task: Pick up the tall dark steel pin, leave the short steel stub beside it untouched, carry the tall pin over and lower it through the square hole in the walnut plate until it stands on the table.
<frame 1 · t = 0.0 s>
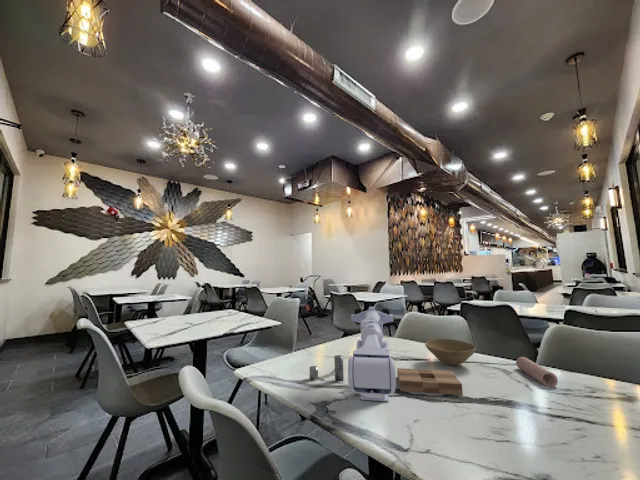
hand: (372, 312, 107), 22 cm above the table, fingers open, 7 cm apart
hole plate: (427, 385, 91), on the table
bowl: (451, 365, 111), on the table
short pin: (313, 379, 98), on the table
tall pin: (339, 380, 97), on the table
coil: (535, 378, 97), on the table
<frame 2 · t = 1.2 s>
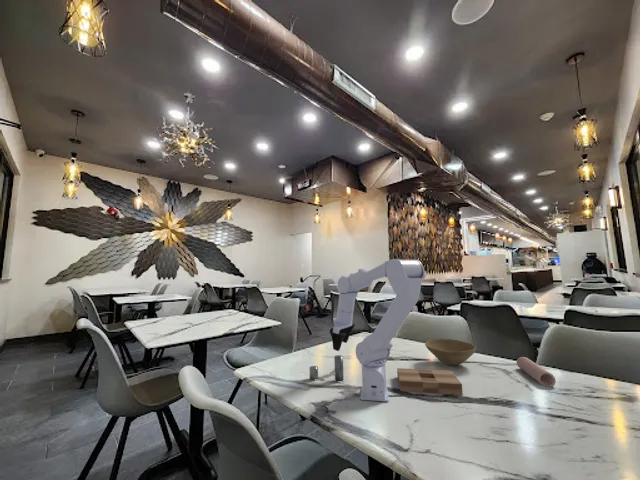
hand: (340, 345, 101), 11 cm above the table, fingers open, 7 cm apart
nothing on the table moved.
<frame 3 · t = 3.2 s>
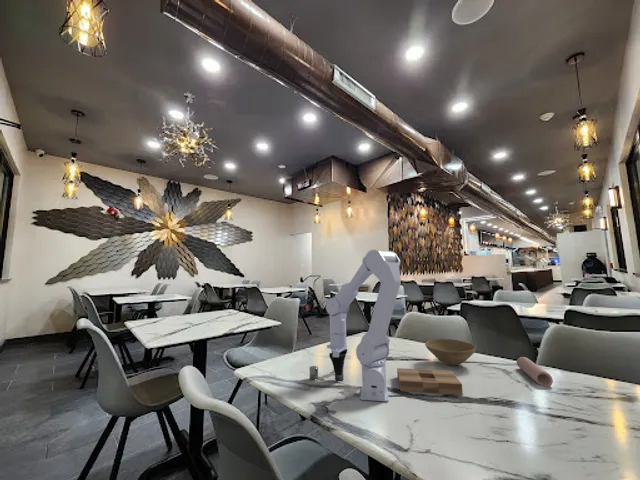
hand: (339, 373, 97), 2 cm above the table, fingers closed on tall pin, 3 cm apart
tall pin: (339, 380, 97), on the table, touching gripper
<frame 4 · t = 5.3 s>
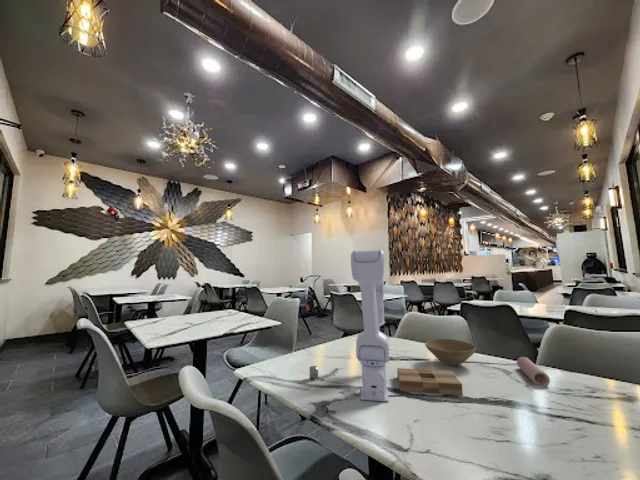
hand: (377, 346, 105), 9 cm above the table, fingers closed on tall pin, 3 cm apart
tall pin: (377, 353, 105), point 7 cm above the table, touching gripper
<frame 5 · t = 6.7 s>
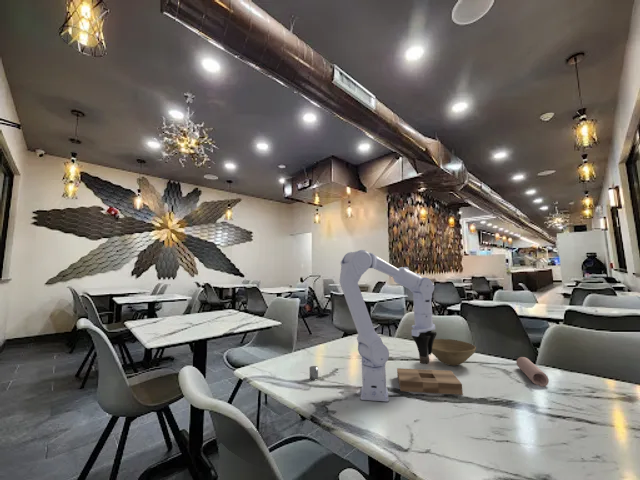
hand: (425, 355, 92), 9 cm above the table, fingers closed on tall pin, 3 cm apart
tall pin: (424, 362, 92), point 7 cm above the table, touching gripper
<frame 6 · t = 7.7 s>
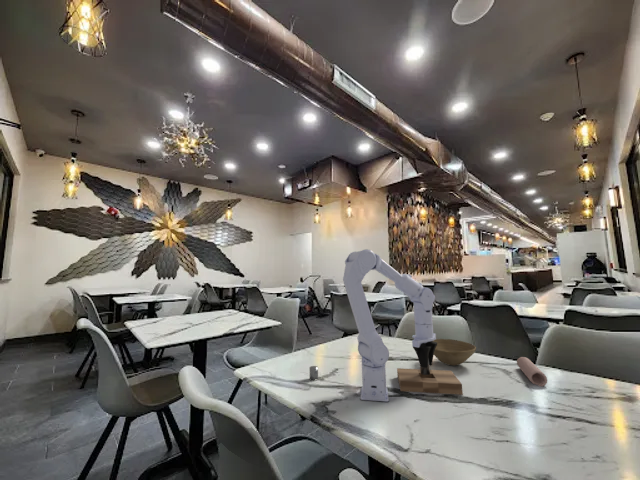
hand: (426, 365, 92), 6 cm above the table, fingers closed on tall pin, 3 cm apart
tall pin: (425, 373, 92), point 4 cm above the table, touching gripper
when the fingers open (4 cm above the table, at t = 8.5 s): tall pin drops 1 cm, resting in hole plate.
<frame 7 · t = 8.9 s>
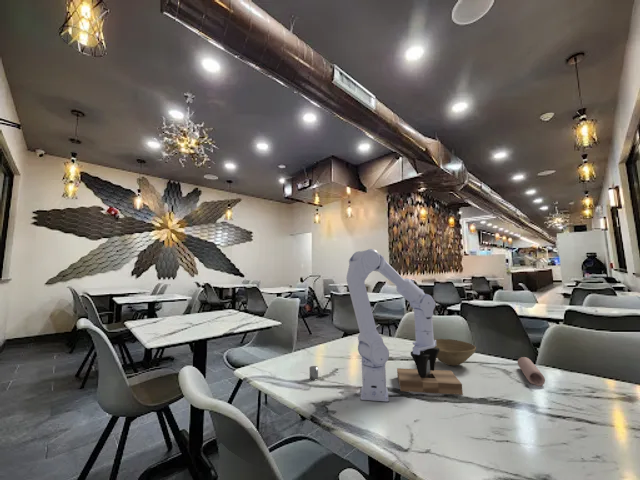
hand: (426, 372, 92), 4 cm above the table, fingers open, 6 cm apart
tall pin: (425, 384, 92), resting in hole plate
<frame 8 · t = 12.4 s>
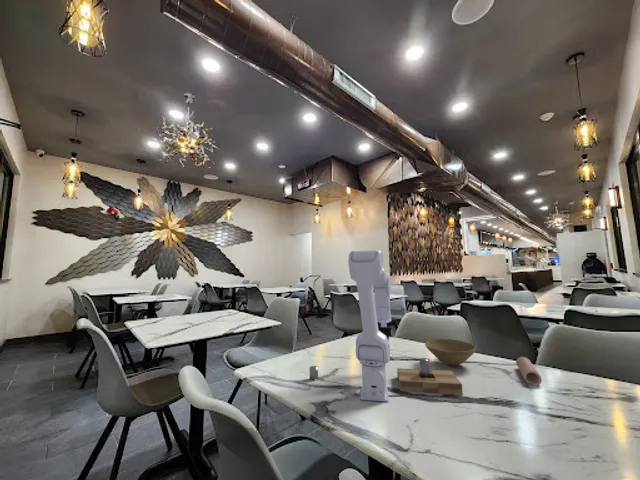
hand: (384, 343, 105), 10 cm above the table, fingers open, 7 cm apart
at the end: tall pin 0.5 cm off-centre on the hole plate, point 0.0 cm above the hole plate's base; tall pin tilted 0°; short pin moved 0.0 cm from its start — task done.
